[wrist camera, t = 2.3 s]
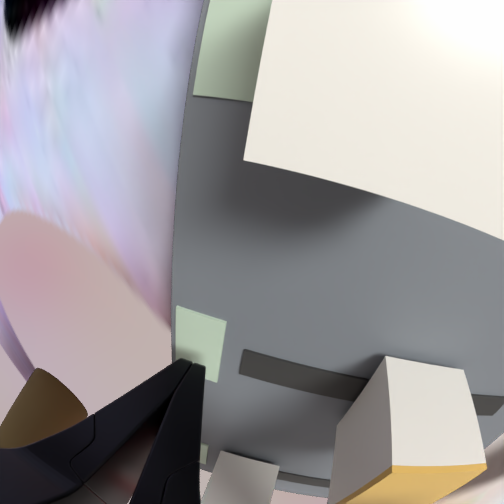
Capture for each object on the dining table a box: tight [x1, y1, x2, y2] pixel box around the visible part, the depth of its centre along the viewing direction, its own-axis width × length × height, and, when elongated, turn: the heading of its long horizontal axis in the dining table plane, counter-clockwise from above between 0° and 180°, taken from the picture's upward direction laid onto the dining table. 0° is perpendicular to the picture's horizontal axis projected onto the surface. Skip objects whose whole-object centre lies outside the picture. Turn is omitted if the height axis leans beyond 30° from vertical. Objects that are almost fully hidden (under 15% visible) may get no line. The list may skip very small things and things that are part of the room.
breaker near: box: [243, 0, 504, 240], centre depth 3 cm, size 3×4×4 cm
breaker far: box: [201, 451, 280, 504], centre depth 12 cm, size 3×4×4 cm
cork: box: [0, 368, 88, 448], centre depth 15 cm, size 6×6×11 cm
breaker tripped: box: [327, 356, 487, 504], centre depth 7 cm, size 3×4×4 cm
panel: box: [171, 0, 504, 498], centre depth 9 cm, size 16×24×2 cm, turn 171°
